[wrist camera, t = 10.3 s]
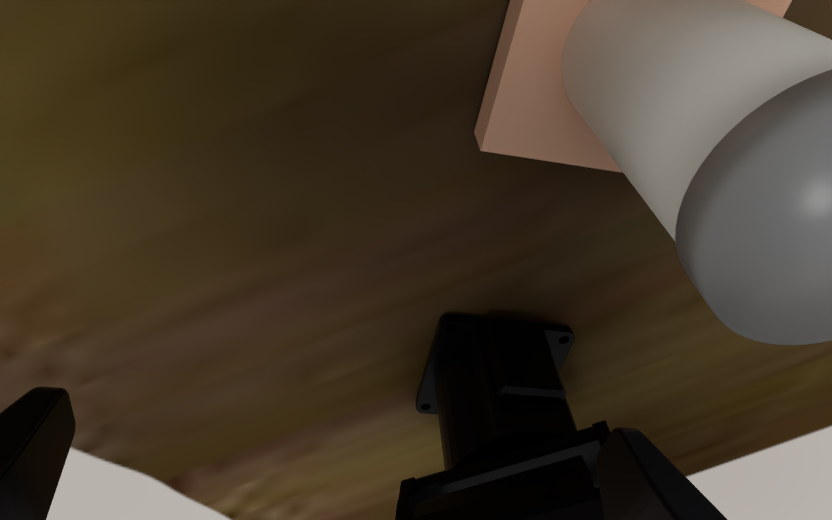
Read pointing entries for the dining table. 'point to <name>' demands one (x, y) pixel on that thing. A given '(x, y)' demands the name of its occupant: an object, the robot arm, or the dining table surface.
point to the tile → (543, 88)
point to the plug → (721, 148)
